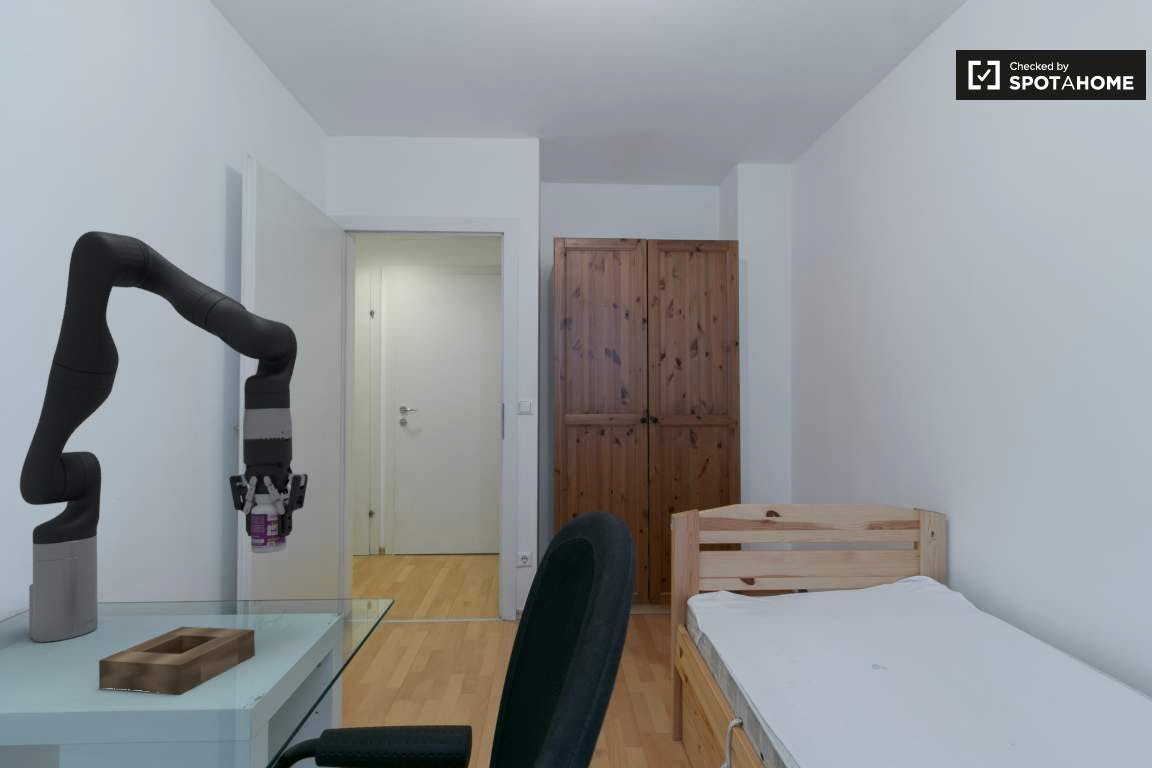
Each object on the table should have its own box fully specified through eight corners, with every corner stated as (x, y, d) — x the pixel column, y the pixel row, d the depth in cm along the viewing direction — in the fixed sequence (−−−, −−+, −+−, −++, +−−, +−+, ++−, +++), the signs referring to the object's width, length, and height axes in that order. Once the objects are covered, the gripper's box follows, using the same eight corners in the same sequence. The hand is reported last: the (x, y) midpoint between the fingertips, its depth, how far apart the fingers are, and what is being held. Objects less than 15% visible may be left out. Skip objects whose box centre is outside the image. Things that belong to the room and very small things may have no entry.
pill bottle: (272, 554, 102) (271, 495, 102) (244, 553, 103) (243, 495, 103) (293, 547, 107) (292, 490, 108) (266, 546, 108) (265, 491, 109)
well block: (99, 688, 89) (99, 660, 89) (182, 651, 102) (181, 626, 102) (180, 694, 85) (179, 665, 86) (254, 655, 99) (254, 629, 99)
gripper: (215, 437, 104) (216, 539, 103) (289, 435, 101) (291, 541, 100) (248, 435, 111) (249, 531, 110) (318, 433, 108) (320, 531, 107)
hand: (269, 535), depth 105 cm, fingers closed on pill bottle, 5 cm apart
